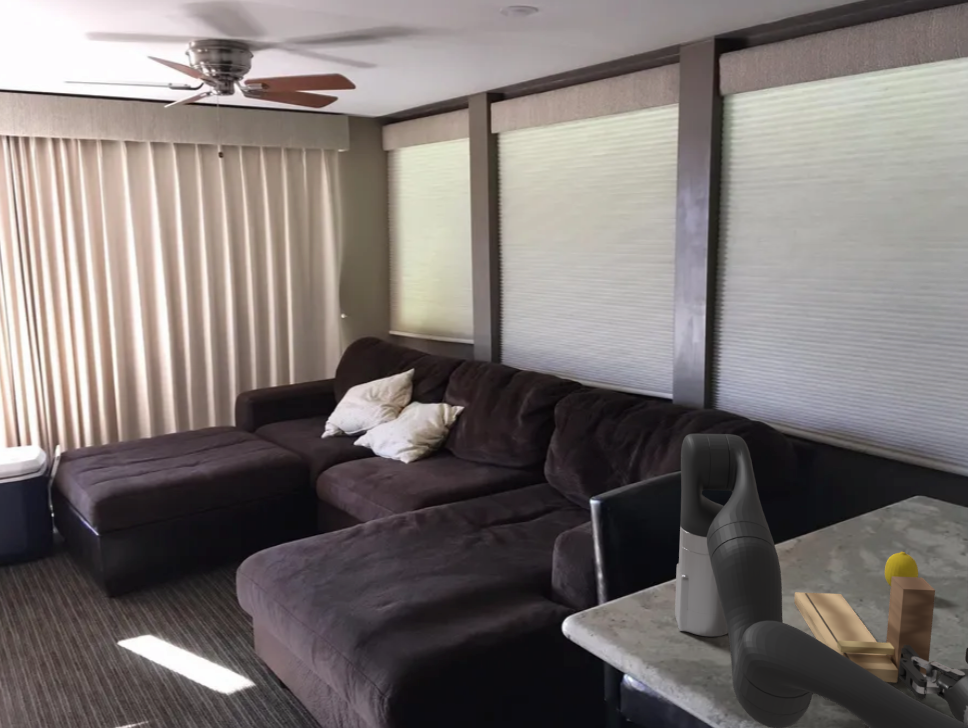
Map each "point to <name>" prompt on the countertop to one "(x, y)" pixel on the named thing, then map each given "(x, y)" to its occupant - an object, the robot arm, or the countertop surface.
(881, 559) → the countertop surface
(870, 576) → the countertop surface
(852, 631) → the board
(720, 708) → the countertop surface
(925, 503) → the countertop surface
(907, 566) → the lemon
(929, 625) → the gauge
